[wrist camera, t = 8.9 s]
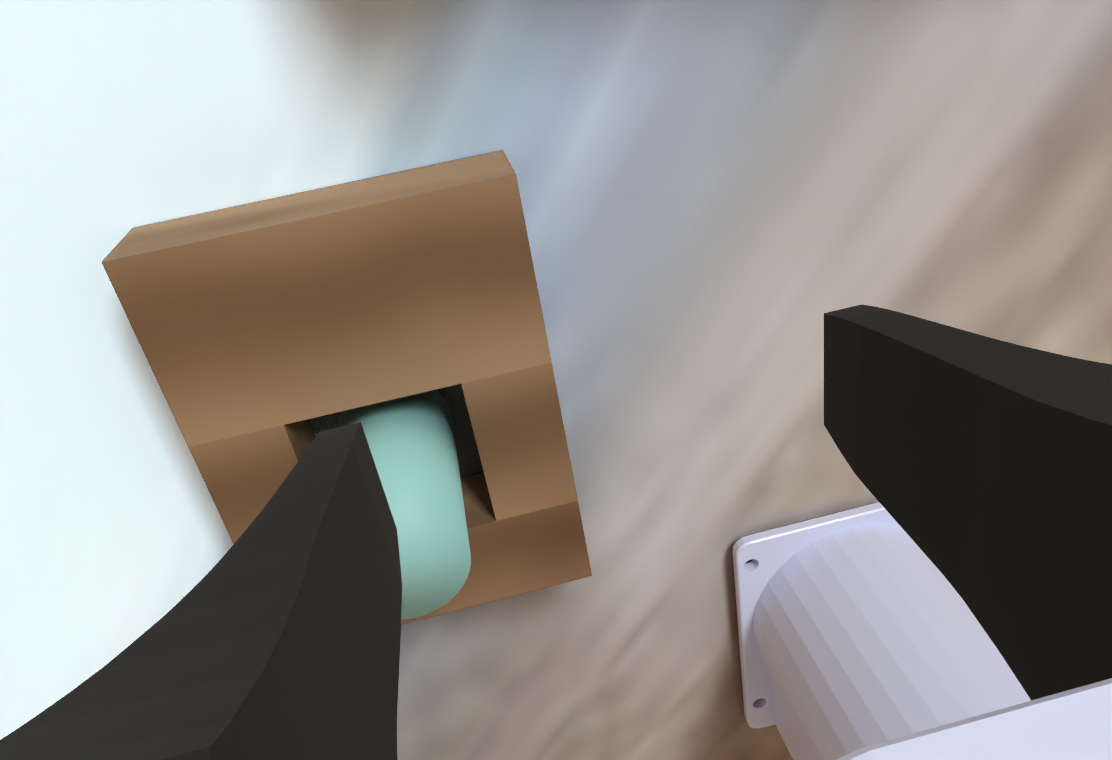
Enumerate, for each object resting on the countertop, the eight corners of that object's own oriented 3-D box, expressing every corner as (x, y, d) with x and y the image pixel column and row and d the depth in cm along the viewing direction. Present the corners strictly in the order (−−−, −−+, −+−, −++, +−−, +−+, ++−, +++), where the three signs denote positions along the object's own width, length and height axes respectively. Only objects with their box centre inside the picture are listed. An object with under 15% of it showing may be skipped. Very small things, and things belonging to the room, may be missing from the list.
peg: (463, 458, 24) (483, 600, 19) (355, 483, 24) (345, 635, 19) (438, 364, 22) (454, 491, 17) (323, 390, 22) (302, 526, 17)
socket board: (575, 525, 26) (591, 575, 24) (294, 595, 25) (285, 653, 23) (502, 149, 20) (515, 173, 18) (132, 227, 19) (101, 262, 17)
